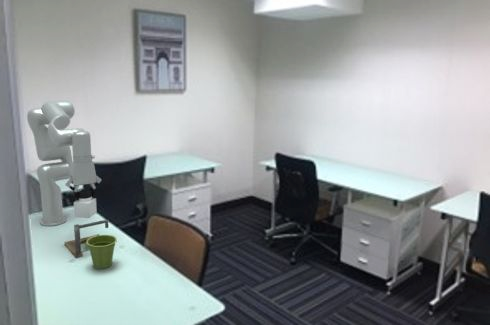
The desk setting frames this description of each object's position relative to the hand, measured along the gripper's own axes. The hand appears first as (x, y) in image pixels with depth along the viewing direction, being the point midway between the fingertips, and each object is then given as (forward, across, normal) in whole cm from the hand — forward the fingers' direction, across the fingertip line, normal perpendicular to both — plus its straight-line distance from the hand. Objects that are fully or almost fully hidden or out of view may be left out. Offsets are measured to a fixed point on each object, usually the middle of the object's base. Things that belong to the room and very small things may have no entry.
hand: (84, 198), depth 180 cm
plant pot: (+24, +1, +22) cm, 32 cm away
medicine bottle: (+8, 0, 0) cm, 8 cm away
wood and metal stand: (+23, 0, 0) cm, 23 cm away
